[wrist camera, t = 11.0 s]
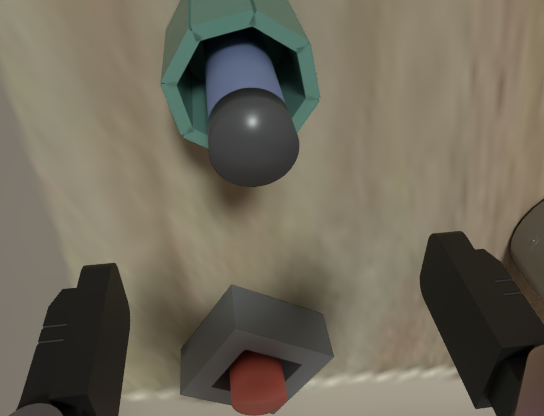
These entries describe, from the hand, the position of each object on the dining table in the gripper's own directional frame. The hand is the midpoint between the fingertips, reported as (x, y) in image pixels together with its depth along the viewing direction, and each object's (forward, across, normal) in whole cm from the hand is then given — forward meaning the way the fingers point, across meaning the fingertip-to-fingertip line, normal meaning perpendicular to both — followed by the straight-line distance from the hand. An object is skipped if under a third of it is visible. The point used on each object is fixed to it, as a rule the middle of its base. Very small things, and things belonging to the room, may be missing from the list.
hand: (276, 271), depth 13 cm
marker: (+15, 0, 0) cm, 16 cm away
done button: (+13, 0, +24) cm, 27 cm away
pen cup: (+16, 0, 0) cm, 16 cm away
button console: (+16, 0, +24) cm, 29 cm away
